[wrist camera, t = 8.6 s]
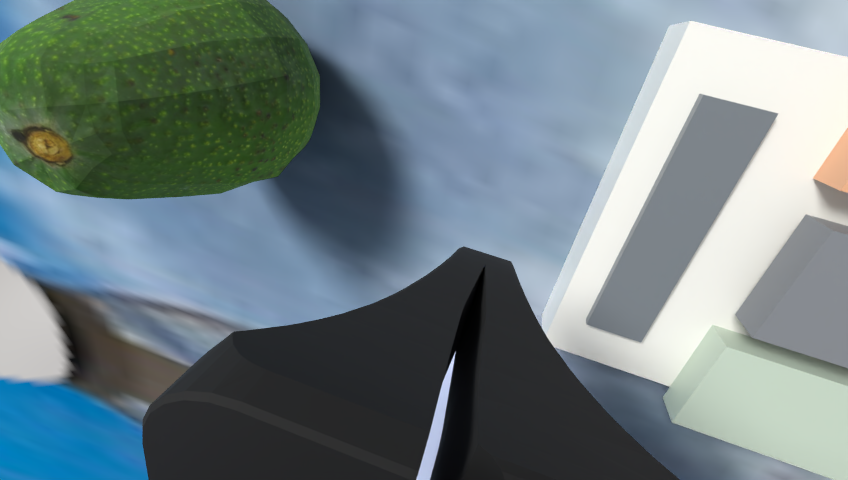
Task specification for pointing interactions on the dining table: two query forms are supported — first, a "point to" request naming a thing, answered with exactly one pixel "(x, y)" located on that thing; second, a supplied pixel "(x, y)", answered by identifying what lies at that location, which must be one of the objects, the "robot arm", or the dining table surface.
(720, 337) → the key sage
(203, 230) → the dining table surface
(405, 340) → the robot arm
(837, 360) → the key charcoal
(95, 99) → the avocado
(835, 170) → the key terracotta
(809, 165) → the white flat slab
